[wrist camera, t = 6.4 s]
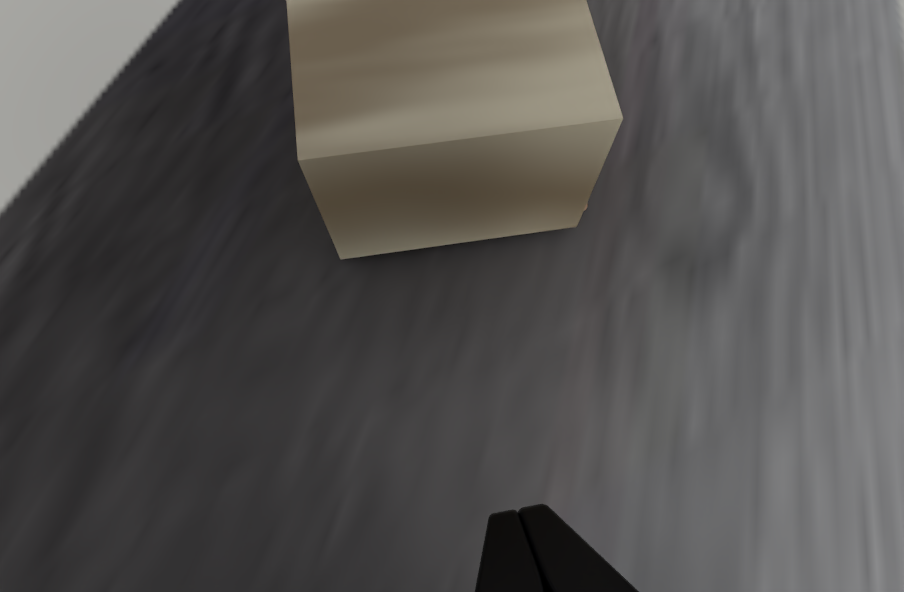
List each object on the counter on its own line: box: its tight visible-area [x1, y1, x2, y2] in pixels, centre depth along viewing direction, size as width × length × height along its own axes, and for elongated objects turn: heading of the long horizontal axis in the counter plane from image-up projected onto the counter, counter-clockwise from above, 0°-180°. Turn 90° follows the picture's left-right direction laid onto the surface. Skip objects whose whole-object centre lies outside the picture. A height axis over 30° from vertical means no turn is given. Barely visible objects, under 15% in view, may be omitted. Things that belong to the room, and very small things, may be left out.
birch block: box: [287, 0, 623, 259], centre depth 16 cm, size 5×7×10 cm
